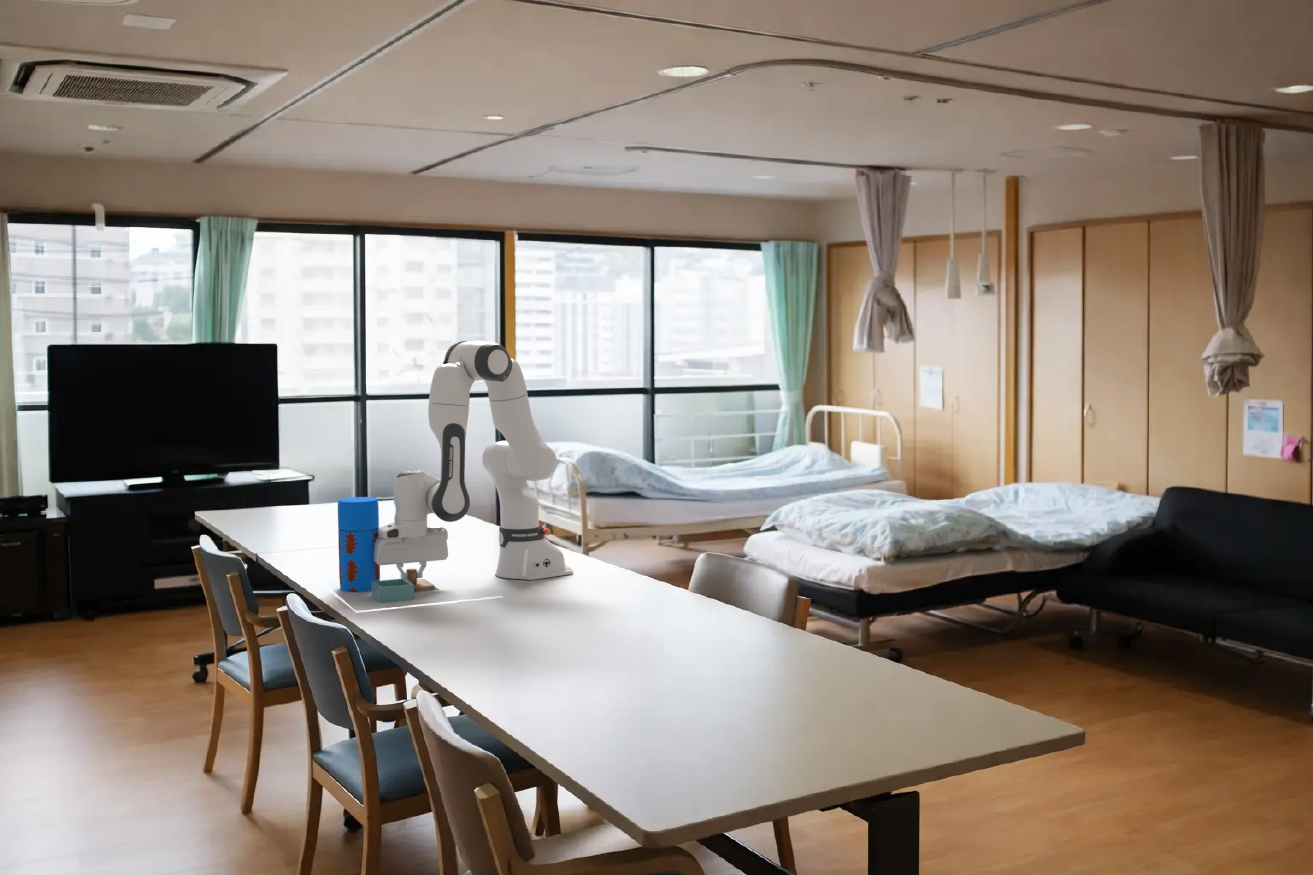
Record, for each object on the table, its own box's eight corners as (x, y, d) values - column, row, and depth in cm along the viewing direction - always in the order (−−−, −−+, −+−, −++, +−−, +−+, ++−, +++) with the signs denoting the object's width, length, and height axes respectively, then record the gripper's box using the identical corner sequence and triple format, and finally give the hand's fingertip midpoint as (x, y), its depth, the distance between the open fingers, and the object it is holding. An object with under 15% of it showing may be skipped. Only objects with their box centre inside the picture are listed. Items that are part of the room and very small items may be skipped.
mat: (426, 583, 337) (426, 581, 337) (439, 591, 327) (439, 589, 326) (384, 587, 332) (384, 585, 332) (396, 596, 321) (396, 593, 321)
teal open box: (404, 594, 323) (404, 578, 322) (414, 601, 315) (413, 584, 314) (371, 598, 318) (371, 581, 318) (380, 604, 311) (379, 587, 310)
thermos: (369, 594, 322) (367, 502, 320) (333, 593, 324) (330, 501, 322) (386, 586, 333) (384, 497, 331) (350, 585, 335) (348, 496, 333)
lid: (424, 582, 336) (424, 564, 335) (434, 589, 327) (434, 571, 326) (389, 585, 331) (388, 567, 331) (398, 592, 322) (398, 574, 322)
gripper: (444, 524, 335) (444, 572, 336) (371, 529, 326) (372, 579, 327) (451, 527, 330) (451, 577, 331) (377, 533, 320) (378, 583, 321)
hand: (411, 578), depth 329 cm, fingers closed on lid, 3 cm apart
